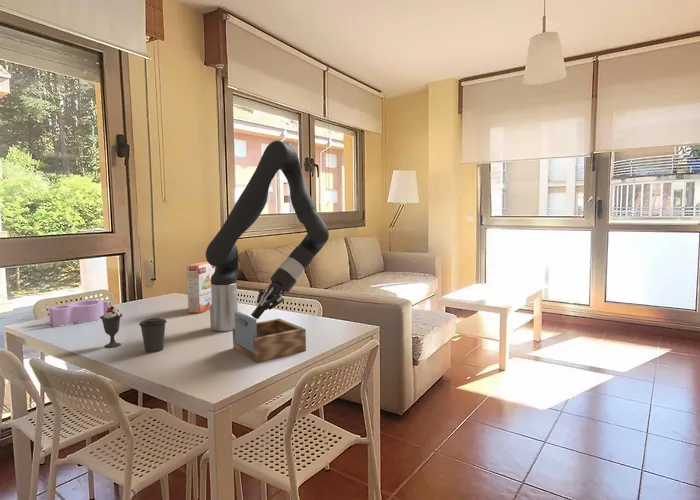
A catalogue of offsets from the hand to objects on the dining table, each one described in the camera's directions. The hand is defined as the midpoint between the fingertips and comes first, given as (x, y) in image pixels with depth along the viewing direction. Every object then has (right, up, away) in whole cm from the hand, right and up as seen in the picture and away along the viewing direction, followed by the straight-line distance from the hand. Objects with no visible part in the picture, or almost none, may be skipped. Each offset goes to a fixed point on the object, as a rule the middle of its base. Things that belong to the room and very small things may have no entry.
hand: (254, 317), depth 136 cm
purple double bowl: (-80, -8, +42) cm, 91 cm away
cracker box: (-36, -6, +59) cm, 70 cm away
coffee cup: (-33, -11, +5) cm, 35 cm away
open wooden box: (+4, -11, +4) cm, 12 cm away
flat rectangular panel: (-3, -10, -1) cm, 10 cm away
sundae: (-49, -11, +9) cm, 51 cm away
